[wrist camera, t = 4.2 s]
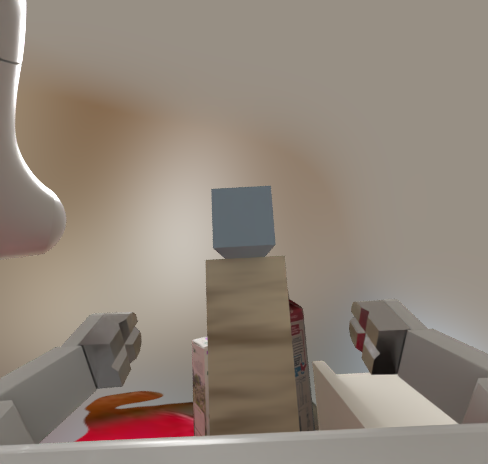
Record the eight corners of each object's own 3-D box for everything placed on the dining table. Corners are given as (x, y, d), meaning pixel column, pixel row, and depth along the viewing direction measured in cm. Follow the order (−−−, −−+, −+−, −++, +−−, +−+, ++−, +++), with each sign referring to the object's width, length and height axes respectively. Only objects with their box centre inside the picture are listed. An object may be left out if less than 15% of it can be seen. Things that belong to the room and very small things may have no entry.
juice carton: (285, 459, 32) (273, 290, 36) (253, 435, 37) (245, 290, 41) (315, 437, 36) (301, 287, 40) (282, 418, 41) (272, 287, 45)
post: (312, 578, 19) (284, 255, 24) (213, 583, 19) (205, 260, 24) (293, 491, 27) (275, 261, 32) (222, 495, 27) (215, 264, 32)
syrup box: (242, 441, 36) (238, 338, 39) (205, 459, 33) (203, 345, 36) (225, 423, 41) (222, 332, 43) (191, 437, 38) (190, 338, 40)
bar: (275, 244, 15) (270, 185, 16) (213, 248, 15) (211, 189, 16) (258, 264, 37) (256, 238, 38) (232, 265, 37) (231, 240, 38)
